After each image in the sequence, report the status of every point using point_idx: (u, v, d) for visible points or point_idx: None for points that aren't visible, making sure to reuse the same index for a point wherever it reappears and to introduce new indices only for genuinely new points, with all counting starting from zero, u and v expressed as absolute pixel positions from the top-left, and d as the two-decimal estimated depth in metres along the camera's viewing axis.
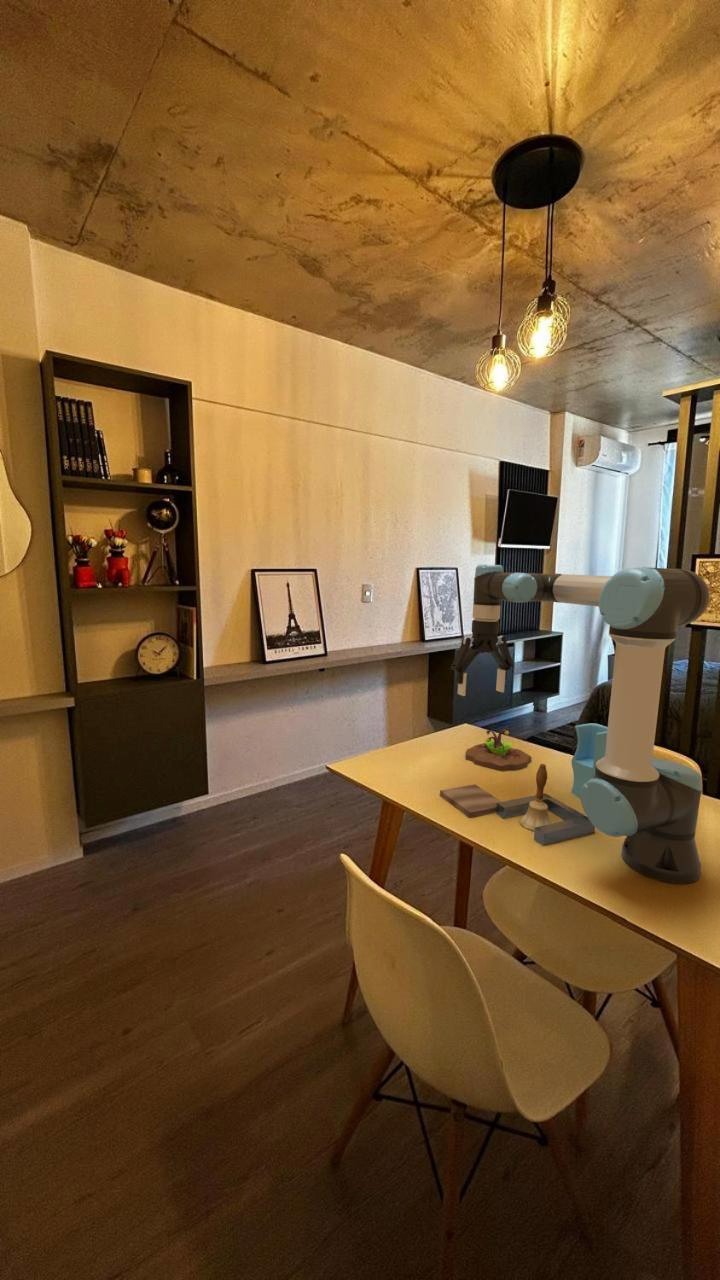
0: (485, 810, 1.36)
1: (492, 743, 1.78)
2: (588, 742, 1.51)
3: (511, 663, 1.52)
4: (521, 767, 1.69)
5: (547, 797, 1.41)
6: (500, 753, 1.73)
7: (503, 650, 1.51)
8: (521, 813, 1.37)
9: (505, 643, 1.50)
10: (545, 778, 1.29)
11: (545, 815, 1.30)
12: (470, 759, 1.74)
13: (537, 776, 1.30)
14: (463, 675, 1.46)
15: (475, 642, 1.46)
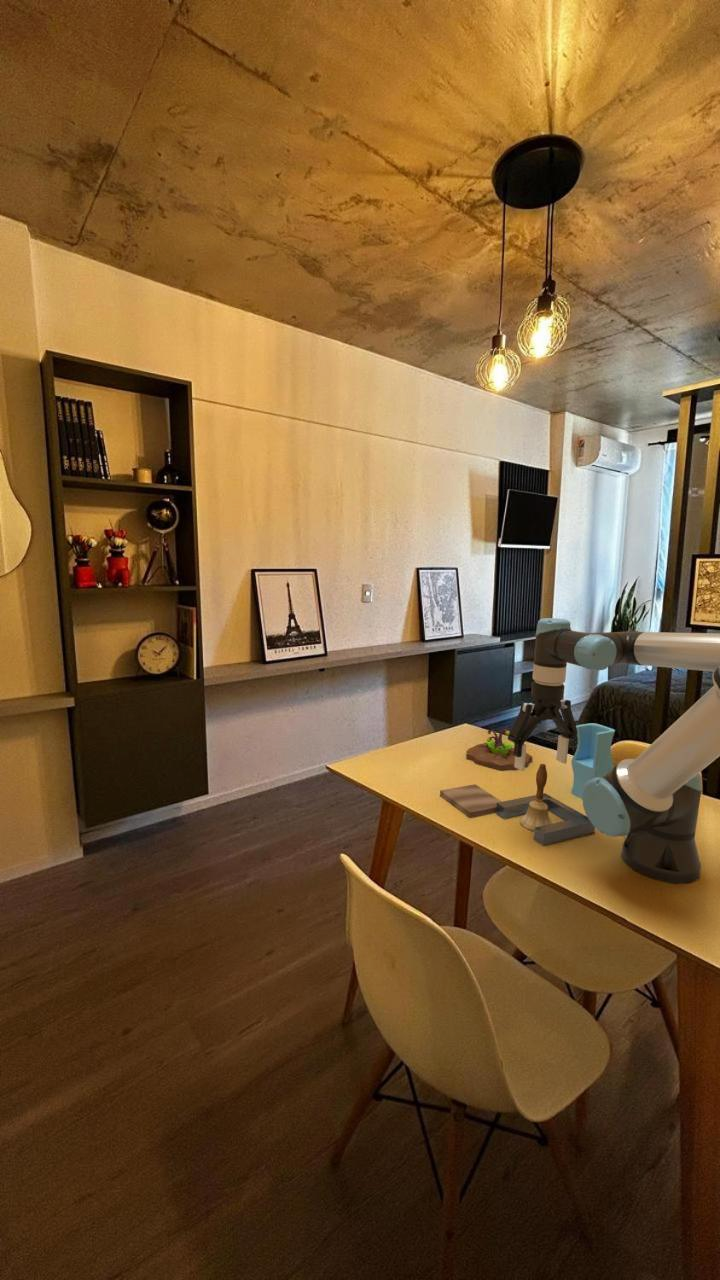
0: (485, 810, 1.36)
1: (493, 743, 1.79)
2: (588, 742, 1.51)
3: (575, 730, 1.32)
4: None
5: (547, 797, 1.41)
6: (501, 753, 1.74)
7: (566, 715, 1.31)
8: (521, 813, 1.37)
9: (569, 708, 1.30)
10: (545, 778, 1.29)
11: (545, 815, 1.30)
12: (471, 758, 1.75)
13: (537, 776, 1.30)
14: (522, 747, 1.26)
15: (536, 709, 1.26)
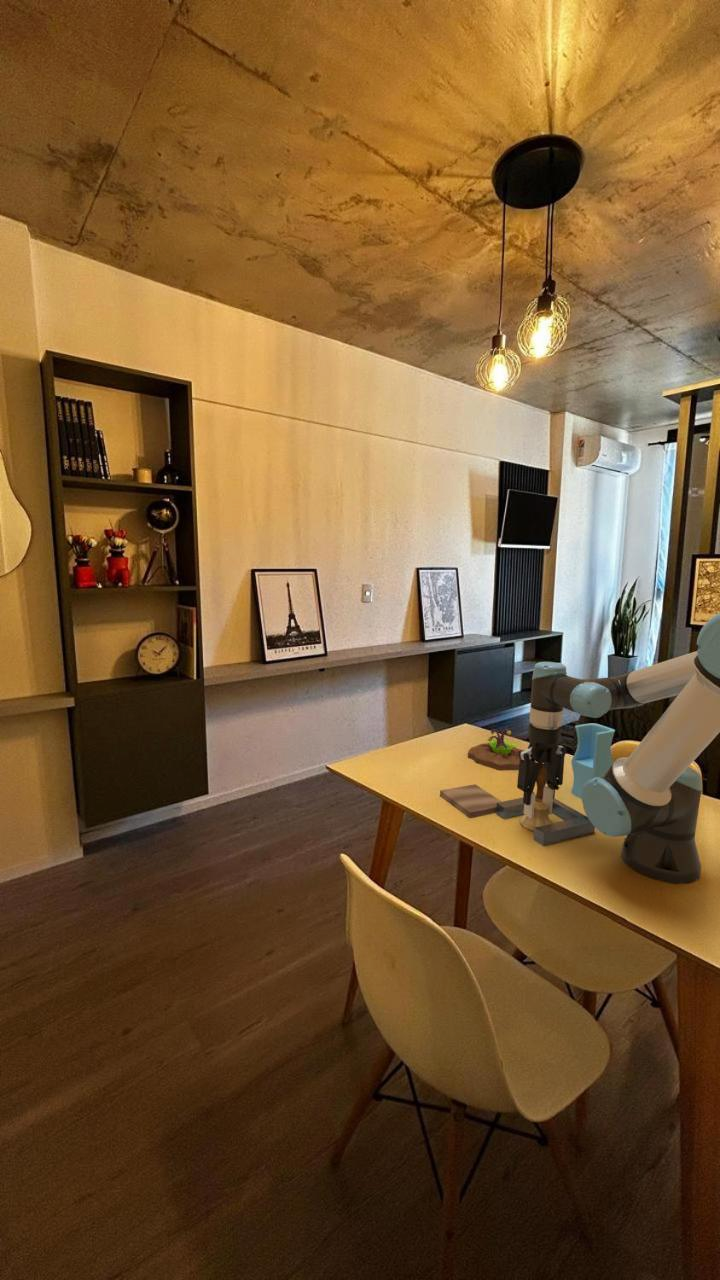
0: (485, 810, 1.36)
1: (496, 742, 1.79)
2: (588, 742, 1.51)
3: (561, 780, 1.32)
4: None
5: None
6: (502, 753, 1.74)
7: (558, 762, 1.32)
8: (521, 813, 1.37)
9: (563, 755, 1.31)
10: (545, 778, 1.29)
11: (545, 815, 1.30)
12: (471, 757, 1.76)
13: (537, 776, 1.30)
14: (531, 795, 1.29)
15: (534, 753, 1.27)
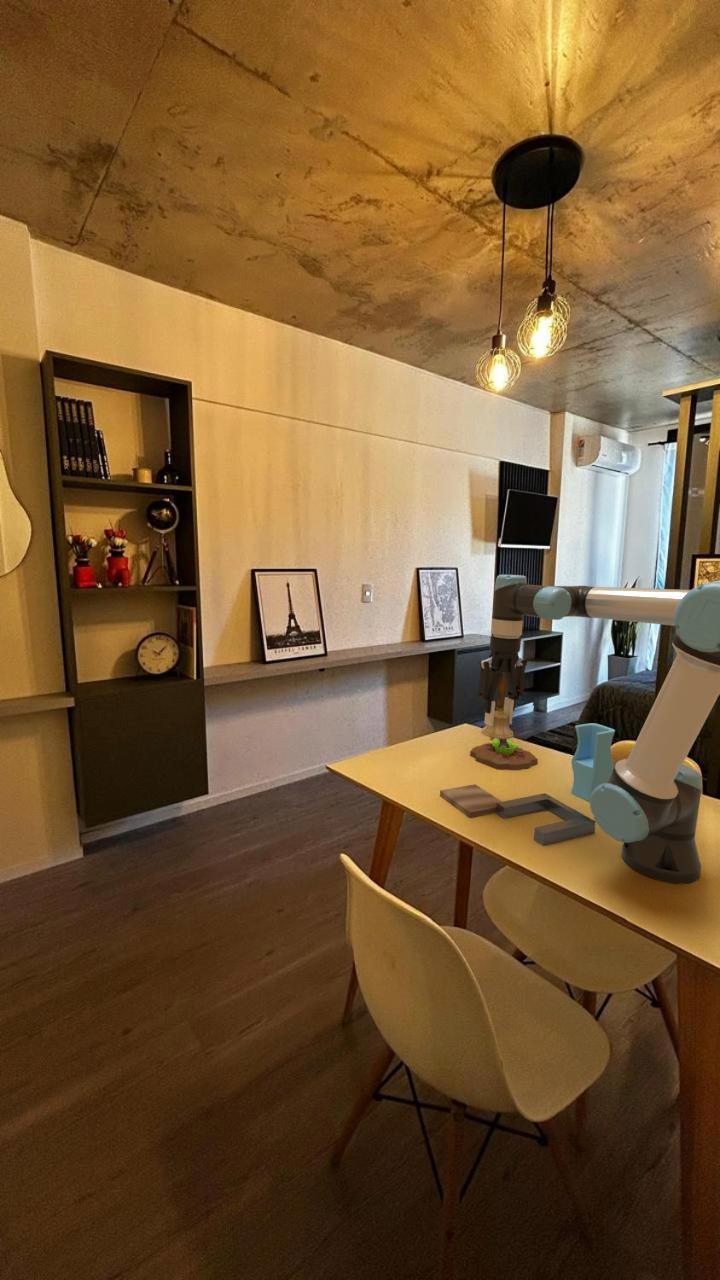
0: (485, 810, 1.36)
1: (500, 742, 1.79)
2: (588, 742, 1.51)
3: (521, 692, 1.37)
4: (521, 768, 1.68)
5: (547, 797, 1.41)
6: (503, 752, 1.74)
7: (518, 674, 1.36)
8: (521, 813, 1.37)
9: (524, 667, 1.36)
10: (505, 687, 1.34)
11: (505, 724, 1.35)
12: (473, 756, 1.77)
13: (498, 686, 1.35)
14: (491, 704, 1.34)
15: (494, 662, 1.32)
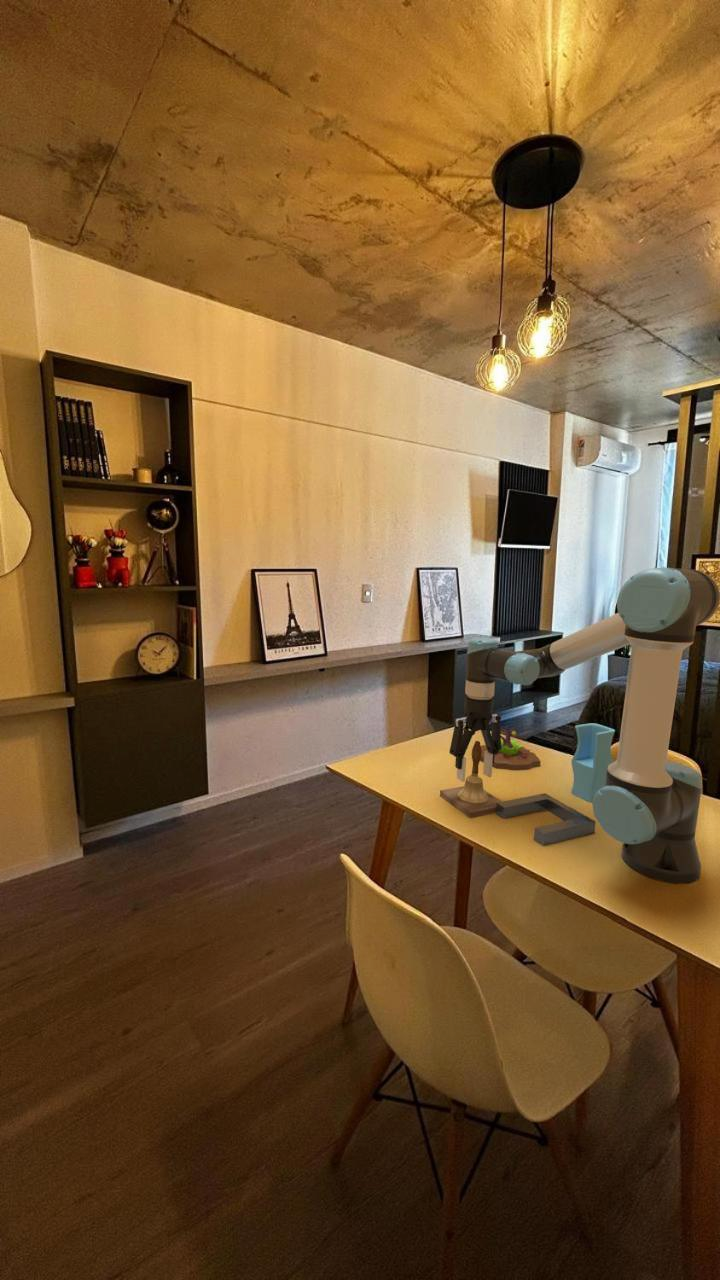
0: (485, 810, 1.36)
1: None
2: (588, 742, 1.51)
3: (499, 746, 1.43)
4: (520, 768, 1.68)
5: (547, 797, 1.41)
6: (505, 752, 1.74)
7: (494, 730, 1.42)
8: (521, 813, 1.37)
9: (498, 723, 1.42)
10: (479, 754, 1.40)
11: (480, 788, 1.41)
12: None
13: (472, 752, 1.41)
14: (462, 760, 1.39)
15: (468, 721, 1.38)
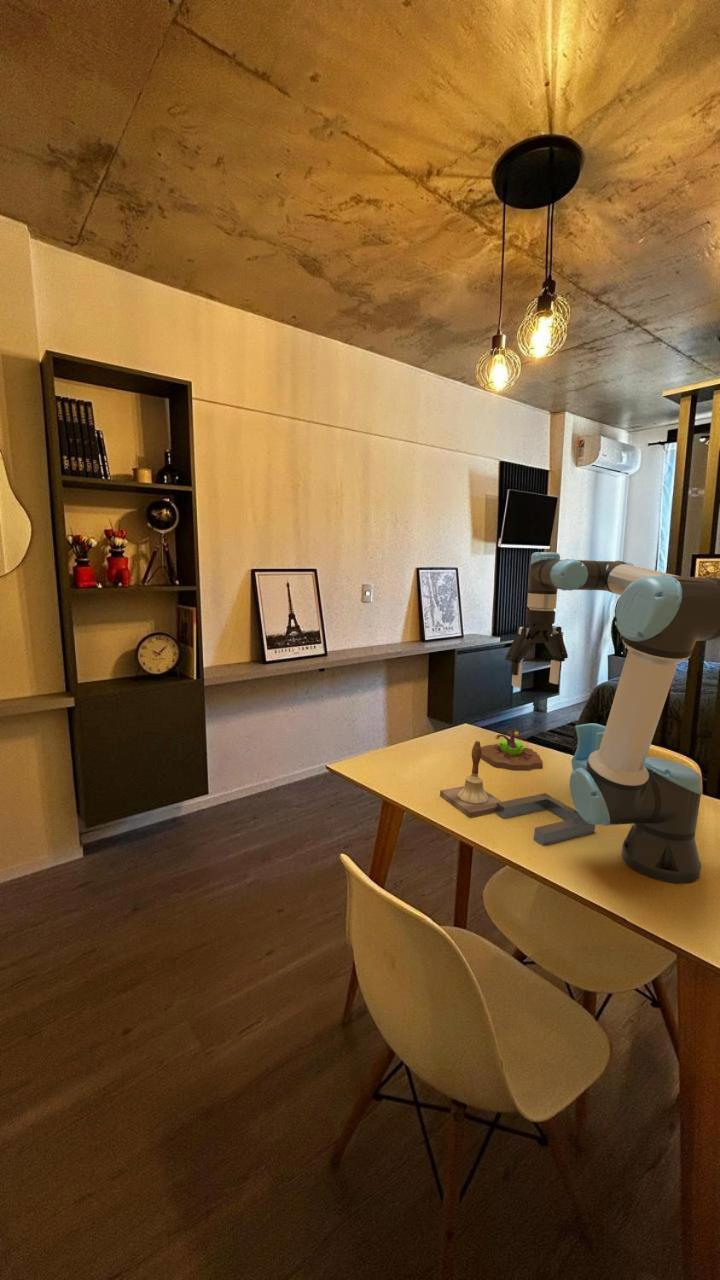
0: (485, 810, 1.36)
1: None
2: (588, 742, 1.51)
3: (565, 654, 1.48)
4: (519, 769, 1.67)
5: (547, 797, 1.41)
6: (508, 752, 1.74)
7: (558, 641, 1.47)
8: (521, 813, 1.37)
9: (560, 633, 1.46)
10: (479, 754, 1.40)
11: (480, 788, 1.41)
12: None
13: (472, 752, 1.41)
14: (518, 666, 1.42)
15: (531, 632, 1.42)
